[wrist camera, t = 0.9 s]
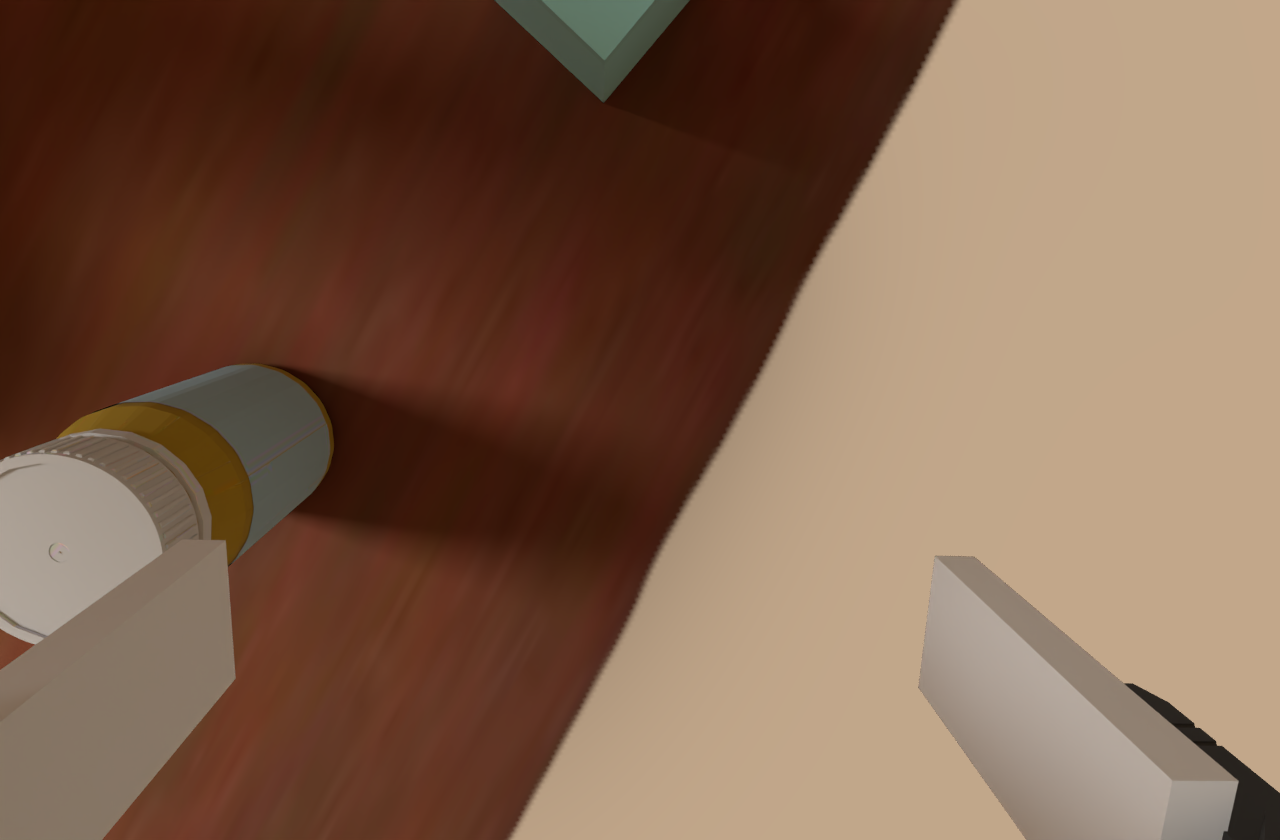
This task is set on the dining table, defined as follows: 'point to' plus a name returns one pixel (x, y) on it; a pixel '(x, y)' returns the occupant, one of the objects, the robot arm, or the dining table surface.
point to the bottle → (153, 487)
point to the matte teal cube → (595, 34)
